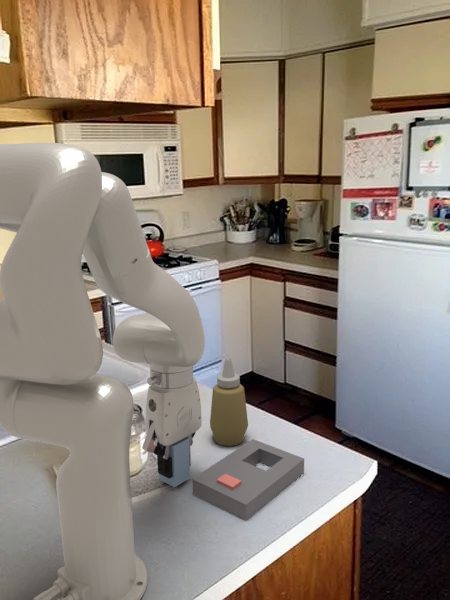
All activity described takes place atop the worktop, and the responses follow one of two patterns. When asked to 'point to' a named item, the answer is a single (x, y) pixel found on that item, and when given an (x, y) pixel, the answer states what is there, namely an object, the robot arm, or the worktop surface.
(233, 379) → the squeeze bottle
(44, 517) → the worktop surface
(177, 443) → the plug
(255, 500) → the power strip
